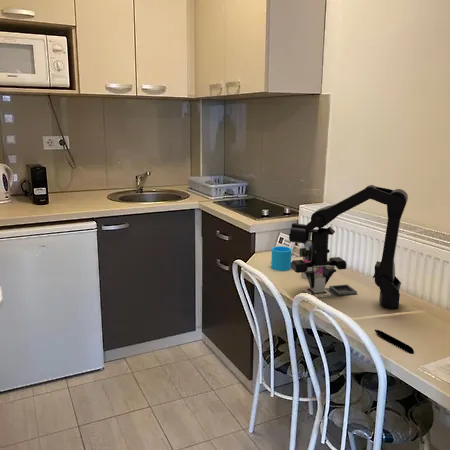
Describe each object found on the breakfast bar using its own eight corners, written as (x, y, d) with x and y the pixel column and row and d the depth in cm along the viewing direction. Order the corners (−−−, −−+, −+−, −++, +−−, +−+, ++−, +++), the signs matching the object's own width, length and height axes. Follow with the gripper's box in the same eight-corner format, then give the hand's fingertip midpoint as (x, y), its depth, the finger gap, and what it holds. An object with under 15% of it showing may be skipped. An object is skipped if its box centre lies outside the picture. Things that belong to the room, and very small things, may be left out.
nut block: (324, 293, 163) (325, 277, 161) (314, 294, 162) (314, 278, 160) (319, 289, 166) (320, 273, 165) (309, 290, 166) (310, 274, 164)
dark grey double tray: (358, 297, 164) (358, 291, 163) (310, 301, 160) (311, 296, 159) (347, 288, 171) (347, 283, 171) (301, 293, 167) (302, 287, 167)
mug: (294, 269, 192) (295, 250, 190) (276, 272, 189) (277, 252, 187) (280, 261, 203) (281, 243, 201) (263, 263, 200) (264, 245, 198)
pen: (376, 333, 138) (376, 327, 138) (415, 354, 126) (415, 348, 126) (372, 334, 137) (372, 329, 137) (411, 355, 125) (411, 349, 125)
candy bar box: (312, 282, 178) (315, 241, 174) (301, 279, 181) (303, 238, 177) (324, 274, 187) (327, 234, 183) (313, 271, 190) (315, 232, 186)
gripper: (333, 237, 170) (331, 278, 173) (285, 240, 165) (284, 282, 169) (348, 246, 159) (345, 288, 163) (297, 249, 155) (295, 293, 159)
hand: (317, 287), depth 164 cm, fingers closed on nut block, 4 cm apart
